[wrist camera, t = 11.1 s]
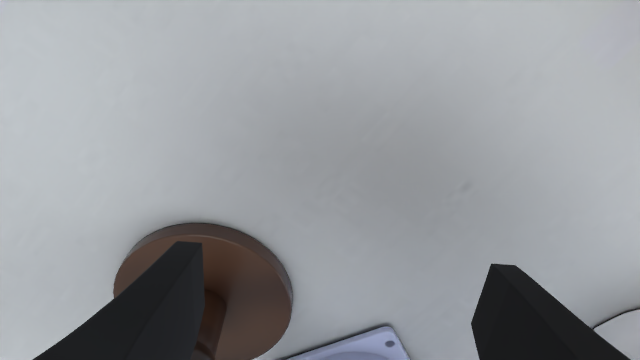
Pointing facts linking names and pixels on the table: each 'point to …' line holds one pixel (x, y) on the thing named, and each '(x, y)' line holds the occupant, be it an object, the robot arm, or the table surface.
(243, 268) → the knob on round base
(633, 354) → the cup
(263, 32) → the table surface
